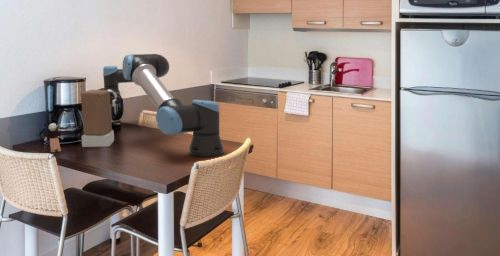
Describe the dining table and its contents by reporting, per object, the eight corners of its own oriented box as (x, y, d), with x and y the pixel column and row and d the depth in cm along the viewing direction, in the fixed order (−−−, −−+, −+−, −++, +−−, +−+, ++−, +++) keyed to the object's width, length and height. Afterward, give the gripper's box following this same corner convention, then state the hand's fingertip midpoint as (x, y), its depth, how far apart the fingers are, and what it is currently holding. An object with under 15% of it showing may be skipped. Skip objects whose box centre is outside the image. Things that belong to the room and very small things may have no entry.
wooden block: (103, 135, 206) (100, 92, 202) (83, 135, 207) (79, 92, 203) (112, 131, 216) (110, 90, 212) (93, 130, 217) (90, 89, 213)
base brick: (108, 146, 207) (108, 136, 206) (82, 146, 206) (81, 136, 205) (114, 140, 219) (113, 130, 218) (88, 140, 218) (88, 130, 217)
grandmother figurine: (61, 149, 202) (59, 121, 200) (65, 150, 200) (62, 122, 197) (44, 152, 197) (41, 123, 194) (47, 153, 194) (44, 125, 192)
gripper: (132, 104, 238) (125, 111, 217) (84, 104, 236) (72, 111, 215) (131, 90, 236) (124, 95, 216) (83, 90, 234) (71, 96, 213)
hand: (98, 103), depth 215 cm, fingers open, 13 cm apart
